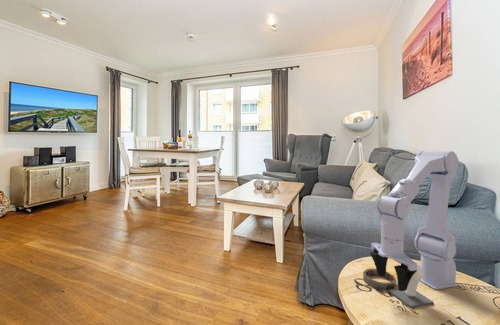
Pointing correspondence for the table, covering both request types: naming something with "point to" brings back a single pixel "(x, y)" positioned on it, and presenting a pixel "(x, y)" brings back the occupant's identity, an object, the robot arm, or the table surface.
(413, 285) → the lightbulb
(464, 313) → the table surface
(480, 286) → the table surface
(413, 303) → the mat
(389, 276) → the collar
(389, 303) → the table surface
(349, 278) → the table surface
